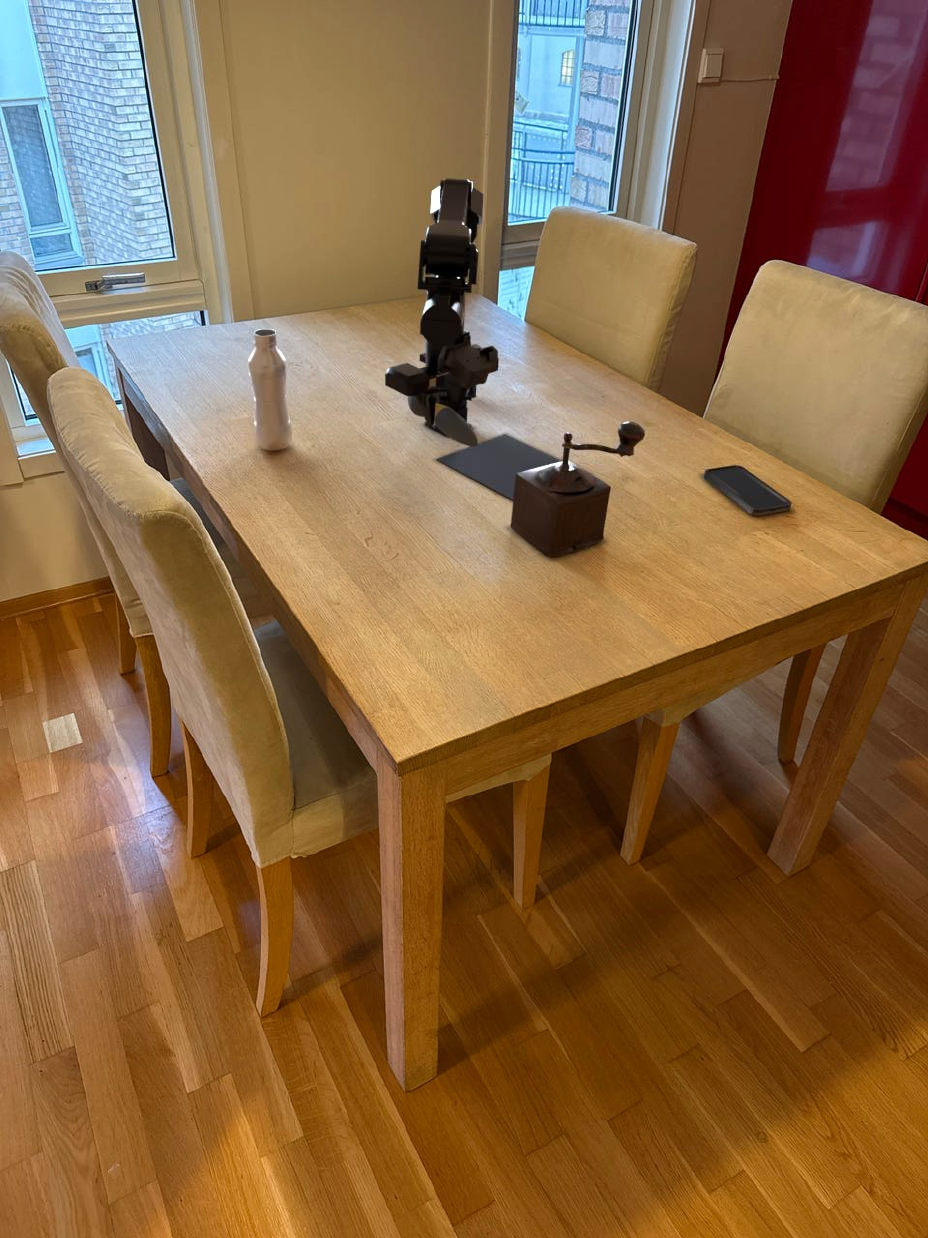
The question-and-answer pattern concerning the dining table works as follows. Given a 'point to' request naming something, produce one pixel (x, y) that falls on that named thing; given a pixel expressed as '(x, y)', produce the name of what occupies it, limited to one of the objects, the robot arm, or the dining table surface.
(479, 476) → the mat
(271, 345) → the plastic bottle
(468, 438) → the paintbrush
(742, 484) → the phone
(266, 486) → the dining table surface
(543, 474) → the manual coffee grinder
